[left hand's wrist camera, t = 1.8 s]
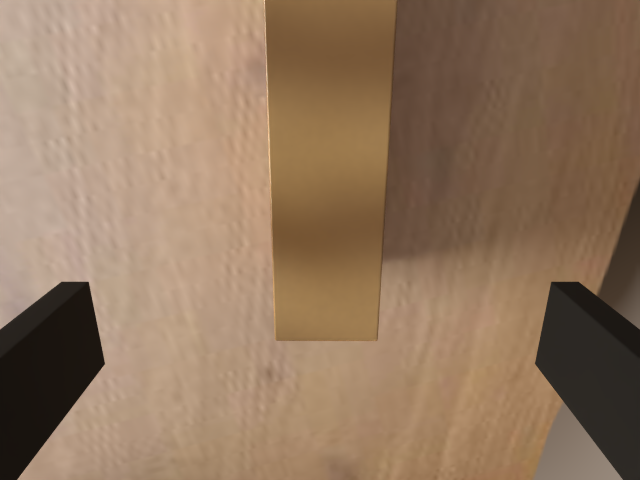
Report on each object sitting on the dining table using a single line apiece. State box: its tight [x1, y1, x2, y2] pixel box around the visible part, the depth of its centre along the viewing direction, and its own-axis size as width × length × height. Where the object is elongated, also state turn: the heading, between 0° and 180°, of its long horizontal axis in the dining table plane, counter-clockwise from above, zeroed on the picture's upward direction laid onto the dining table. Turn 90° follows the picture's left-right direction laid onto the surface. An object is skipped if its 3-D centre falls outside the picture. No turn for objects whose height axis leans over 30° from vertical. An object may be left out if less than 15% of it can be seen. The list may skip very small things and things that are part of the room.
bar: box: [264, 0, 398, 341], centre depth 19 cm, size 22×4×8 cm, turn 0°
